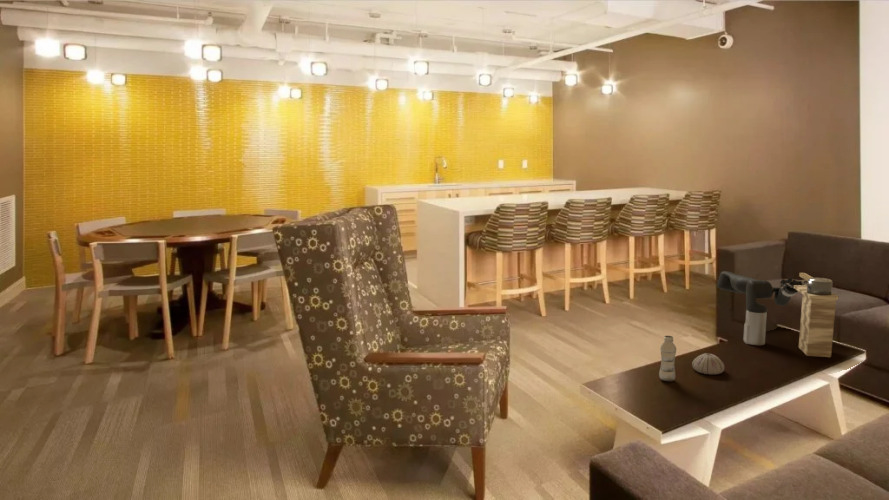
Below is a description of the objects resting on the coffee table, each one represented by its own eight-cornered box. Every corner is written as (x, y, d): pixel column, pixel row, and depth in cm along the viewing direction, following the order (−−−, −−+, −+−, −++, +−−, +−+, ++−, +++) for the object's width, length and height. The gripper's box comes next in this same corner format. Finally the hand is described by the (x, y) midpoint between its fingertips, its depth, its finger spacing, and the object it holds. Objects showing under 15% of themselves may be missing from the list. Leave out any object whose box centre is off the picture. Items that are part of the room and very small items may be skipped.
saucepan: (835, 295, 256) (836, 282, 255) (811, 295, 259) (812, 281, 258) (812, 282, 284) (813, 269, 283) (790, 281, 287) (791, 269, 286)
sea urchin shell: (726, 378, 240) (726, 360, 239) (692, 374, 245) (693, 357, 244) (722, 367, 252) (723, 350, 251) (690, 364, 257) (691, 348, 256)
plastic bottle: (656, 377, 243) (657, 335, 239) (670, 376, 243) (672, 334, 240) (663, 383, 236) (664, 339, 233) (678, 382, 237) (679, 338, 234)
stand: (833, 357, 260) (838, 296, 255) (804, 355, 263) (809, 295, 258) (816, 342, 280) (820, 285, 276) (789, 341, 284) (793, 285, 279)
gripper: (775, 281, 305) (784, 272, 290) (804, 282, 301) (814, 272, 286) (776, 294, 302) (785, 285, 288) (805, 295, 298) (816, 286, 284)
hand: (800, 279), depth 287 cm, fingers open, 8 cm apart
